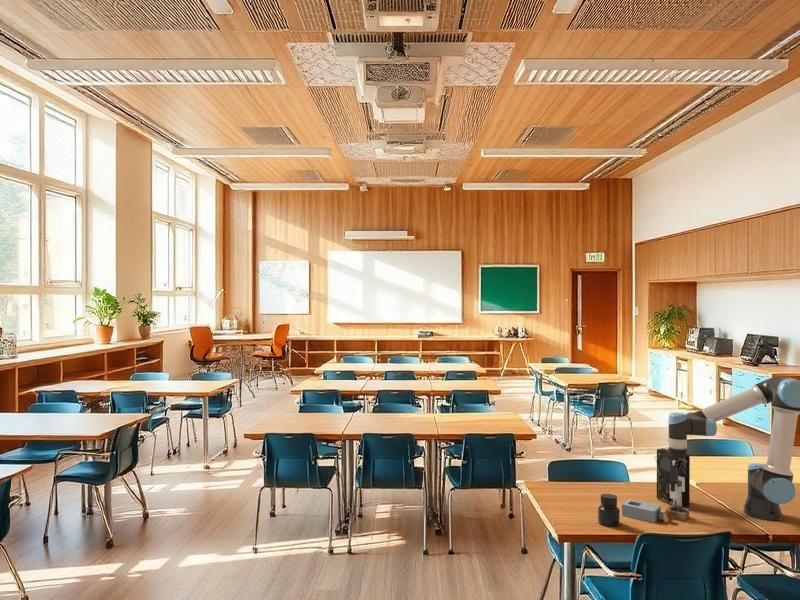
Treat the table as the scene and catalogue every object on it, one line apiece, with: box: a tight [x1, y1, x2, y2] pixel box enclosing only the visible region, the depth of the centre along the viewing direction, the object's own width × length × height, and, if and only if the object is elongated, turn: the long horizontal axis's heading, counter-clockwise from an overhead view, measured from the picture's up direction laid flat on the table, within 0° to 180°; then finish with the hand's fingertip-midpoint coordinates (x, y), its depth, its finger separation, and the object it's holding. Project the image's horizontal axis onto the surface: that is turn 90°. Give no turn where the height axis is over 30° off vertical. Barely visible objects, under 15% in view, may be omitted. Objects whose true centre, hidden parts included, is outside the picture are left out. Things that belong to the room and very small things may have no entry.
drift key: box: [657, 510, 670, 524], centre depth 261 cm, size 9×4×4 cm, turn 51°
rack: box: [665, 505, 690, 523], centre depth 264 cm, size 8×8×4 cm
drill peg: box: [673, 480, 683, 513], centre depth 264 cm, size 4×4×16 cm
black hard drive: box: [656, 447, 691, 508], centre depth 284 cm, size 16×9×25 cm, turn 16°
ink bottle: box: [597, 493, 621, 528], centre depth 256 cm, size 10×9×12 cm
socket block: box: [621, 498, 662, 524], centre depth 265 cm, size 14×10×5 cm
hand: (677, 494), depth 264 cm, fingers open, 13 cm apart
